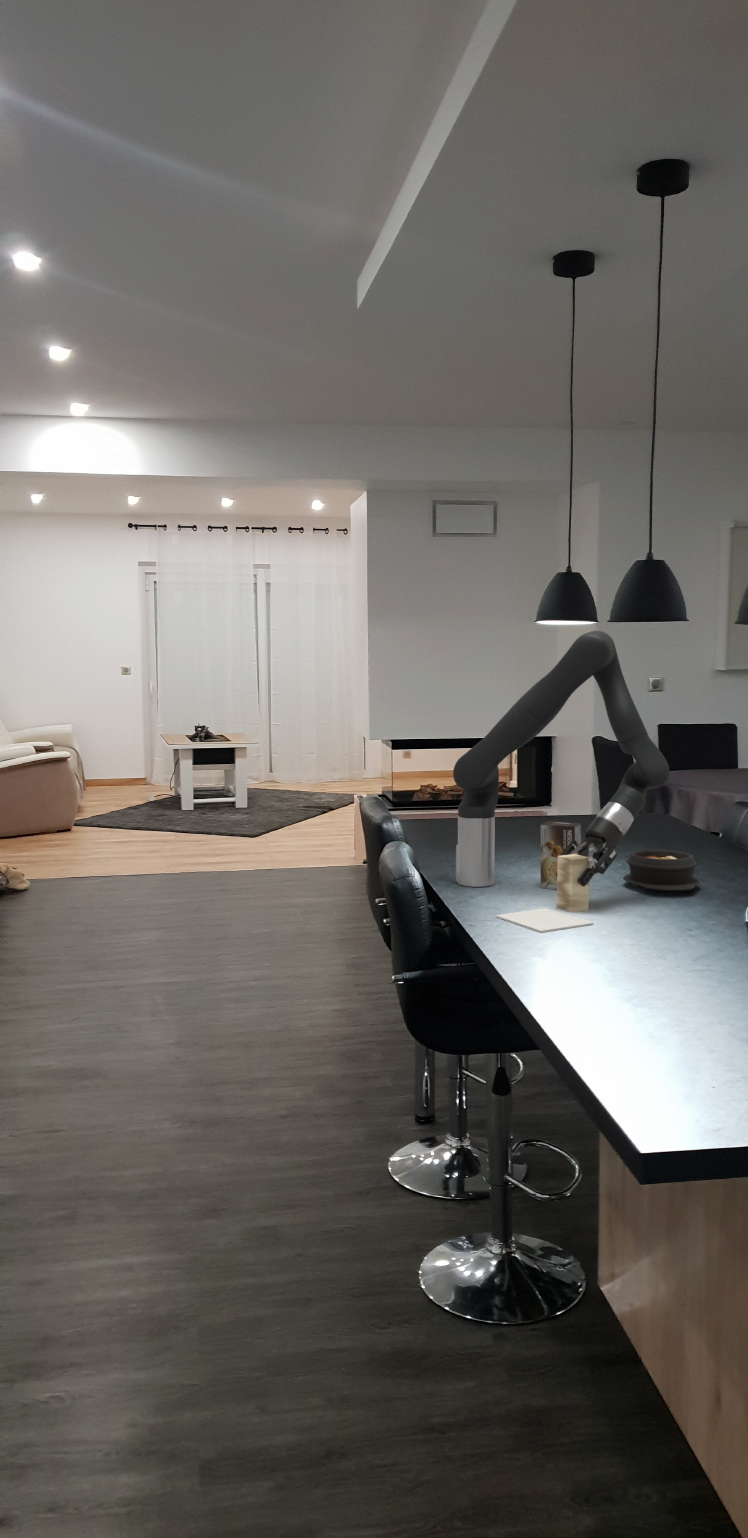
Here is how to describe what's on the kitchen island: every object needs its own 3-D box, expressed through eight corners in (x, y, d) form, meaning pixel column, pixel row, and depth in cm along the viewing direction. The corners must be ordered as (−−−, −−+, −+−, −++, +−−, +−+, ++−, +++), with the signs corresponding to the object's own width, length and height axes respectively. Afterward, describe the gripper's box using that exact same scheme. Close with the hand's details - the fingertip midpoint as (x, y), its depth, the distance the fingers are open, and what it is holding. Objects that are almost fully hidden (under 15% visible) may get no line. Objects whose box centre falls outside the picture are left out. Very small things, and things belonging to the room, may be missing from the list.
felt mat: (495, 917, 233) (495, 915, 233) (546, 909, 240) (546, 908, 240) (541, 932, 219) (541, 930, 219) (593, 924, 226) (593, 922, 226)
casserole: (711, 898, 252) (712, 863, 251) (631, 897, 253) (632, 862, 253) (687, 878, 277) (688, 846, 276) (615, 877, 278) (616, 845, 278)
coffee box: (582, 886, 266) (583, 823, 264) (574, 891, 260) (576, 826, 258) (547, 883, 270) (548, 820, 268) (539, 888, 264) (539, 824, 263)
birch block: (556, 907, 242) (557, 855, 241) (573, 905, 245) (574, 854, 243) (571, 912, 238) (572, 859, 237) (588, 909, 240) (589, 857, 239)
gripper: (580, 811, 249) (540, 865, 245) (623, 819, 237) (581, 876, 232) (597, 832, 252) (558, 886, 248) (640, 841, 240) (599, 897, 235)
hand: (569, 881), depth 240 cm, fingers open, 7 cm apart
